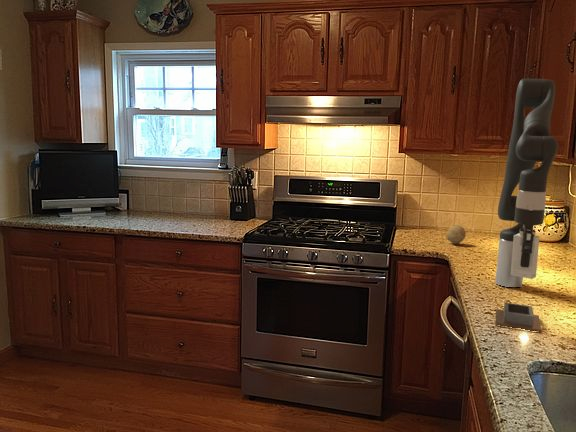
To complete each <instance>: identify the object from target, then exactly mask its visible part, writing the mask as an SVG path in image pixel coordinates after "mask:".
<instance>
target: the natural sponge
mask: <svg viewBox="0 0 576 432" xmlns="http://www.w3.org/2000/svg"><path fill="white" fill-rule="evenodd" d="M465 238H466V230H465V228H464V227H463V226H461V225H459V224H456V225H452V226H451V227H450V228H449V229H448V231H447V233H446V239H447V240H448V241H449V242H450V243H452V244H453V245H459V244H461V242H463V241H464V240H465Z"/></svg>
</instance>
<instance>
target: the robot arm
mask: <svg viewBox="0 0 576 432" xmlns="http://www.w3.org/2000/svg"><path fill="white" fill-rule="evenodd" d="M555 97H556V85H555V81H554V80H552V79H547V78H546V79H545V78H543V79H542V78H522V79H521V80H520V81H519V83H518V84H517V90H516V93H515V104H514V113H513V124H512V129H511V135H510V139H509V140H510V141H509V144H508V145H509V146H508V149H507V157H506V164H505V173H504V180H503V183H502V189H501V191H500V192H501V193H500V196H499V201H498V205H497V216H498V219H500V220H501V221H506V222H507V221H508V222H515V223H517V224H516V225H515V226H512V227H509V228H506V229H505V228H504V229H503V230H500V231H499V239H498V250H497V261H496V262H497V263H496V271H495V280H494V284H495V283H496V284H498V285H497V286H499V285H501V286H500V287H502V286H505V287H504V288H506V287H521V286H522V287H523V281H524V280H523V279H524V277H519V276H513V275H511V266H512V253H513V240H514V235H516V234H520V236H521V239H520V245H521V246H522V250H521V263H520V266H521V267H526V268H528V267H529V261H530V255H531V253H532V246H533V245H534V242H533V238H534V237H535V236H536V232H537V231H536V229H534V226H542V225H543V224H544V219H545V209H546V202H547V201H546V200H547V199H546V197H547V196H546V194H547V193H546V192H547V185H548V184H547V182H548V177H549V172H550V169H551V168H552V165H553V162H554V160H555V158H556V156H557V153H558V150H559V143H558V140H557V139H556V138H555V137H553V136H551V118H552V112H553V108H554V103H555ZM525 109H532V110H531V111H530V112H529V113H528V114H527V115H526V111H525ZM537 162H541V163H540V165H539V166H538V167H535V166H536V163H537ZM517 186H518V190H517V191H518V192H517V195H513V193H514V191H515V189H516V187H517ZM525 246H529V249H524V247H525ZM496 284H495V285H496ZM522 287H521V288H522Z"/></svg>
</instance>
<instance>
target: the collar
mask: <svg viewBox="0 0 576 432" xmlns="http://www.w3.org/2000/svg"><path fill="white" fill-rule="evenodd" d="M495 318H496V320H495V324H494V325H500V326H507V327H512V328H521V329H525V330H530V331H539V332H541V333H542V332H543V331H542V325H541V320H540V316H539V315H538V314H534V310H533V306H532V305H528V304H527V305H526V304H519V303H511V302H504V305H503V309H495ZM530 331H529V332H530Z"/></svg>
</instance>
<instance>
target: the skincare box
mask: <svg viewBox="0 0 576 432" xmlns="http://www.w3.org/2000/svg"><path fill="white" fill-rule="evenodd" d="M520 239H521V236H520V234H516V235H514V240H513V253H512V266H511V275H513V276H519V277H523V279H524V278H525V279H530V280H533V279H535V278H536V277H537V269H538V260H539V259H538V257H539V247H540V246H539V245H540V236H538V235H535V237H534V238H533V242H534V245H533V246H532V253H531V255H530V261H529V267H528V268H526V267H521V266H520V263H521V250H522V246H521V245H520ZM524 249H529V246H525V247H524Z"/></svg>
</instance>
